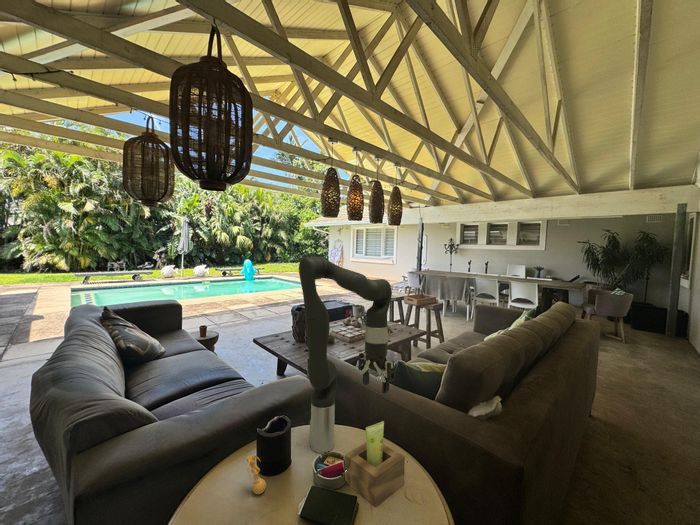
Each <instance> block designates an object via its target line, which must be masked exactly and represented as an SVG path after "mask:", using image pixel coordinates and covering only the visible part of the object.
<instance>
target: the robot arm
mask: <svg viewBox="0 0 700 525" xmlns="http://www.w3.org/2000/svg"><path fill="white" fill-rule="evenodd" d="M298 274H299V280H300V284H301V290H302V296H303V297H302V298H303V304H304V305H303V306H304V307H303V308H304V315H305V316H304V318H305V319H304V320H305V327H306V330H305V331H306V337H307V338H306V339H307V349H308V379H309V383H310V385H311V386H312V388H313V391H312V394H311V402H310V403H311V405H310V406H311V407H310V409H311V410H310V411H311V412H310V414H311V415H310V417H311V418H310V420H309V444H310V448H311V450H312V451H313V452H315V453H318V454H324V452H326V453H329V452H331V451H332V450H334V448H335V409H336V408H335V400H336V394H337V387H338V386H337V385H338V373H337V372H338V371H337V368H336V365H335V363H333V361H332V360H330V359H328V355H327V354H328V353H327V352H328V351H327V350H328V344H329V338H330V331H331V330H330V329H331V328H330V315H329V311H328V309H327V306H326V305H325V303H324V302H323V300H322V299H321V298H320V296H319V294H318V291H317V284H316V280H321V279H326V280H327V279H328V280H331V281H334V282H335V283H336V284H337V285H338V286H339V287H340V288H342V289H344V290H347V291H349V292H352V293H355V294H357V295H358V296H359V297H360V298H362V299H363V300H366V301H369V302H372V305H371V306H370V307H369V308H368V309H366V313H365V329H364V331H365V332H364V351H363V352H359V354H358V365H357V367H358V371H361V373H362V384H363V385H364V386H368V385H369V384H370V371H371V370H372V371H374V372H375V373H376V372H377V373H378V376H379V377H380V378H381V380H382V383H381V384H382V386H381V387H382V388H381V392H382V394H384V395H385V394H387V393H389V391H390V383H391V382H393V381H395V380H396V372H395V371H396V370H395V369H396V368H395V366H396V365H395V364H396V363H395V361H393V360H392V361H390V360H389V361H388V359H387V355H388V350H389V349H388V348H389V347H388V346H389V345H388V342H389V340H388V338H389V335H388V334H389V332H388V312H389V308H390V306H391V300H392V295H393V290H392V286H391V283H390V282H389V281H388V280H387V279H383V278H381V279H380V278H379V279H378V278H377V279H370V278H367V277H366V275H364V274H362V273H360V272H356V271H354V270H350V269H348V268H344V267H342V266H339V265H337V264H336V263H333V262H332V261H330V260H328V259H327V258H325V257H322V256H305V257H302V258H301V259H300V260H299V264H298ZM328 451H329V452H328Z"/></svg>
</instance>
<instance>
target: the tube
mask: <svg viewBox="0 0 700 525" xmlns="http://www.w3.org/2000/svg"><path fill="white" fill-rule="evenodd" d="M384 427H385V420H381V422H377V423H375V424H372V425H369V426H366V427H365V437H366V438H365V439H366V442H367V462H368V463H370V464H371V465H373V466H374V467H377V466H378V465H380V464H381V463H382V456H383V444H384V430H385V428H384ZM366 442H365V443H366Z"/></svg>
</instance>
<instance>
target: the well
mask: <svg viewBox="0 0 700 525" xmlns="http://www.w3.org/2000/svg"><path fill="white" fill-rule="evenodd" d="M405 458H406V457H405V456H404V455H402V454H400V453H399V452H397V450H396V451H395V450H394V449H392V448H390V447H389V446H387V445H386V444H384V443H383V456H382V463H381V464H380V465H378V466H377V467H374V466H373V465H371V464H370V463H368V462H367V442H364V443H363V444H361V445H359V446H357V447H355V448H354V449H352V450H350V451H348V452H346V453H345V454H344V470H345V469H346V470H347V471H348V473H347V483H348V484H349V485H350V486H349V485H348V484H347V483H346V484H347V485H348V486H349V487H351V489H353V490H354V491H355V490H356V491H357V492H356V491H355V492H356V493H358V494H359V495H360V494H361V495H362V496H363V497H362V496H361V495H360V496H361V497H362V498H363V499H365V500H366V499H367V500H368V501H369V502H368V503H369V504H371V505H372V506H373V507H374V508H377V507H378V506H379V505H380V504H382V503H383V502H384V501H385V500H387V499H389V497H390V496H392V495H393V494H394V493H395V492H396V491H398V490H399V489H401V487H403V486H404V485H405V465H406V464H405V460H406V459H405ZM367 500H366V501H367Z"/></svg>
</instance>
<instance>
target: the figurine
mask: <svg viewBox="0 0 700 525" xmlns="http://www.w3.org/2000/svg"><path fill="white" fill-rule="evenodd" d="M256 459H257V460H258V461H259V462H261V459H260V458H259V457H258V456H257V455H256V454H255V453H253V454H252V455H248V456H247V458H246V463H247V465H246V466H247V467H246V470H247V474H248V477H249V480H252V479H253V480H254V482H253V483H252V484H253V485H252V490H253V493H254V494H256V495H261V494H263V493H264V491H265V490H266V487H267V483H266V480H265V479H263V478H261V477H260V476H259V473H260V472H261V469H260V468H259V466H258V465H257V464H256ZM249 468H251V470H250V469H249ZM250 472H252V473H253V474H254V475H253V476H252V475H251V473H250Z"/></svg>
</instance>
